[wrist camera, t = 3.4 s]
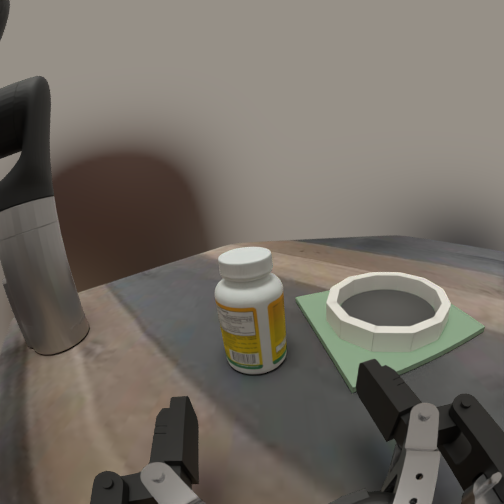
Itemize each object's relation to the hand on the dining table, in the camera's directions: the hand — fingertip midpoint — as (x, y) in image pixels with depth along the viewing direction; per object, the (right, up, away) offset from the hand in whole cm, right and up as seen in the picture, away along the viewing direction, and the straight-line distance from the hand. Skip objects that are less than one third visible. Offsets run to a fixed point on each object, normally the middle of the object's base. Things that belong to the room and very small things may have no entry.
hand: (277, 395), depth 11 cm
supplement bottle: (-1, -3, +12) cm, 12 cm away
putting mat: (+13, 0, +14) cm, 19 cm away
